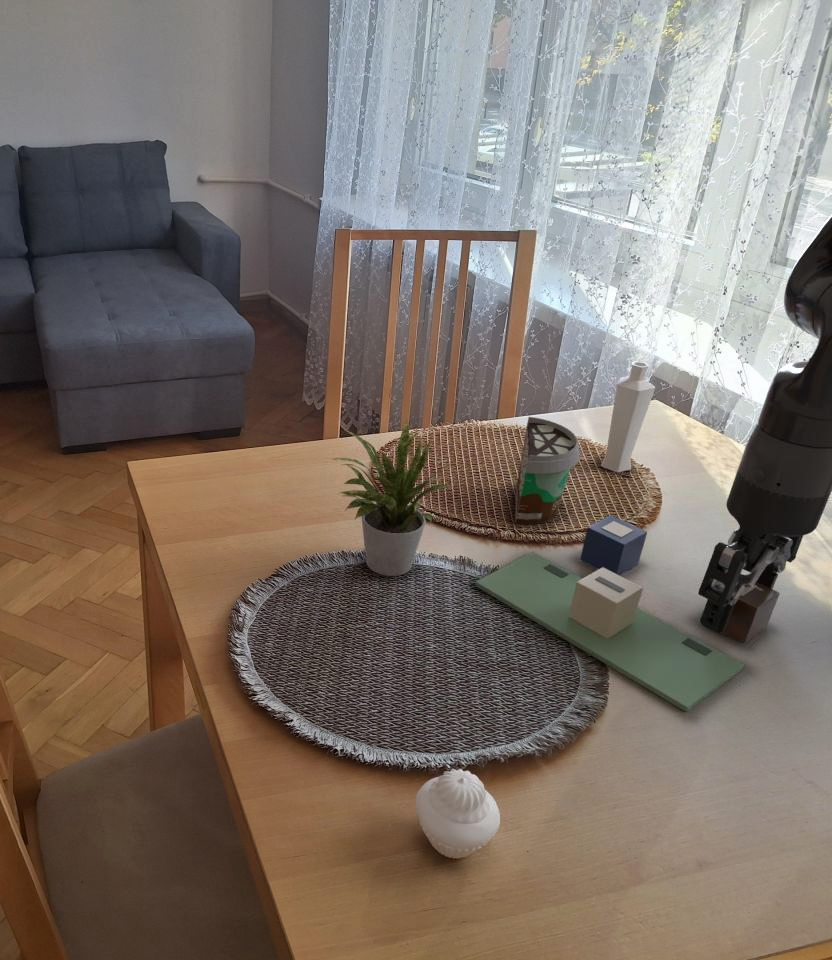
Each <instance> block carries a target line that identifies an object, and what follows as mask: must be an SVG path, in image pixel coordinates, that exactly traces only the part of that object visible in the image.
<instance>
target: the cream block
mask: <svg viewBox="0 0 832 960" xmlns="http://www.w3.org/2000/svg"><path fill="white" fill-rule="evenodd" d="M643 589H644V588H643V586H641V585H638V584H637V583H635V582H633V581H631V580H629V579H627V578H625V577H623V576H621V575H620V576H619V575H617V574H615V573H613V572H611V571H609V570H607V569H605V568H603V567H602V568H600V569H596V570H595V571H593V572H591V573H589V574H588V575H587V576H585V577H583V578H582V579H581V580H579V581H578V582H577V583H576V587H575V591H574V596H573V600H572V604H571V608H570V612H569V617H570V618H572V619H573V620H575V621H577V622H579V623H580V624H582V625H584V626H585V627H587V628H589V629H591V630H592V631H594V632H596V633H598V634H599V635H601V636H603V637H605V638H606V639H608V638H610V637H611V636H613V635H615V634H616V633H618V632H619V631H621V630H622V629H624V628H626V627H627V626H629V625H630V624H632V623H633V621H634V617H635V614H636V610H637V608H639V603H640V600H641V596H642V592H643Z"/></svg>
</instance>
